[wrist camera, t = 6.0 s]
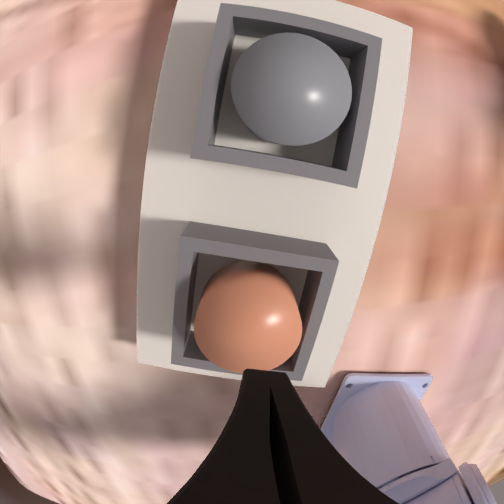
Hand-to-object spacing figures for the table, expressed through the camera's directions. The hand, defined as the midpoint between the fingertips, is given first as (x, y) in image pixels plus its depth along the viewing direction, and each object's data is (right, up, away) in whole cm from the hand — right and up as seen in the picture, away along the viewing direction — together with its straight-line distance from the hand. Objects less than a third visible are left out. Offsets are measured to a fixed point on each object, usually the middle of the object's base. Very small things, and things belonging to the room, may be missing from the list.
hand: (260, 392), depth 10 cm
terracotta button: (0, +2, +6) cm, 6 cm away
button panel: (0, +8, +7) cm, 11 cm away
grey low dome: (+1, +12, +3) cm, 12 cm away
